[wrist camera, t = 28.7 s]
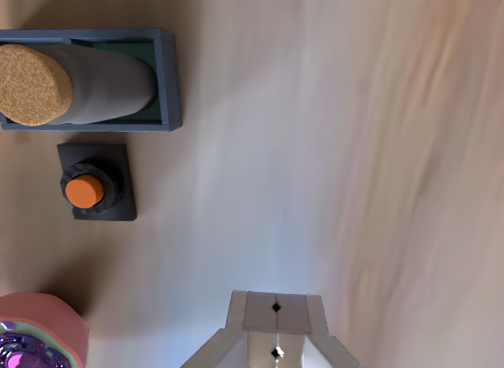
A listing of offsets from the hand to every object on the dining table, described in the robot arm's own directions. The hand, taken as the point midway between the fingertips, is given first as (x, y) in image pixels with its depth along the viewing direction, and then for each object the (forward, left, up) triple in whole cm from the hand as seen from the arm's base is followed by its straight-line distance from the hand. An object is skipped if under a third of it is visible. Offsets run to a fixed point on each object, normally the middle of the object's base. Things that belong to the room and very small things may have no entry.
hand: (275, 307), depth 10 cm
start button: (+5, -22, -23) cm, 32 cm away
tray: (-7, -20, -25) cm, 33 cm away
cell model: (+28, -34, -26) cm, 51 cm away
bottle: (-7, -15, -25) cm, 30 cm away
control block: (+5, -22, -25) cm, 34 cm away
